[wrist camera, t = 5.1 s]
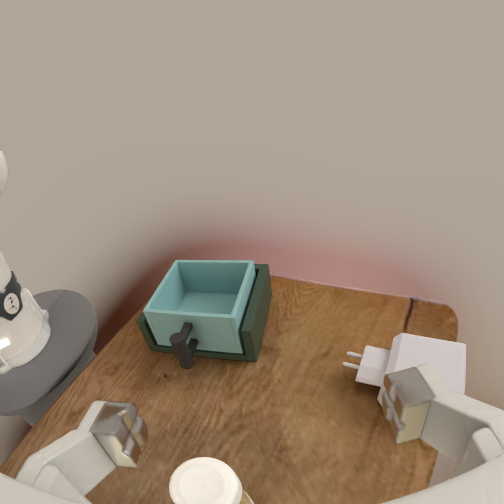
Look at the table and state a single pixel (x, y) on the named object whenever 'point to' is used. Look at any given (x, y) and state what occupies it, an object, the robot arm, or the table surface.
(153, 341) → the dark green bin
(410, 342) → the charger
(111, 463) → the robot arm
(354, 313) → the table surface
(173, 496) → the sprinkles bottle
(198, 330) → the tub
